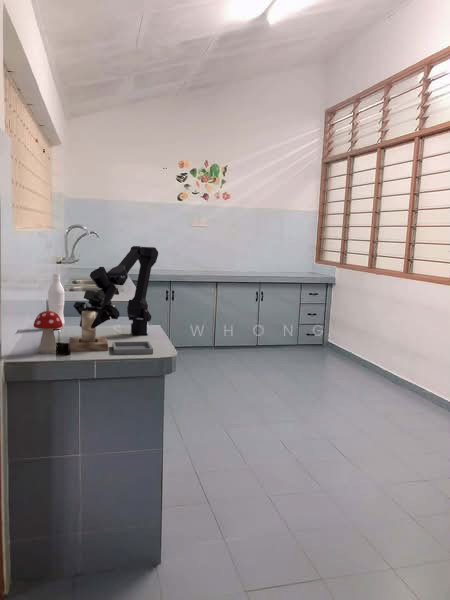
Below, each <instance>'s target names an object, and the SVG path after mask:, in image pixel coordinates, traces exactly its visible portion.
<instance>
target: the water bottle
mask: <svg viewBox="0 0 450 600" xmlns="http://www.w3.org/2000/svg"><path fill="white" fill-rule="evenodd" d="M47 298H48V299H47V307H48V311H52V312H55V313H56V314H58V315H59V317H60V319H61V321H62V324H63V326H62V327H60V328H57V329H60V330H62V329H63V328H64V327H65V323H66V322H65V316H64V309H65V308H64V307H65V289H64V286H63V285H62V283H61V274H60V273H52V281H51V284H50V285H49V287H48V291H47ZM57 329H56V330H57Z"/></svg>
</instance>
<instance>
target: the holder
mask: <svg viewBox="0 0 450 600" xmlns="http://www.w3.org/2000/svg"><path fill="white" fill-rule="evenodd" d="M69 344H70V350H71V351H70V352H99V351H101V352H103V351H104V352H107V351H108V350H109V342H108V338H107V336H95V342H82V336H80V337H79V336H78V337H77V336H73V337H72V336H71V337H69V340H68V345H69Z"/></svg>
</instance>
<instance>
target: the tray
mask: <svg viewBox="0 0 450 600" xmlns="http://www.w3.org/2000/svg"><path fill="white" fill-rule="evenodd" d="M111 347H112V351H113V355H118V356H119V355H120V356H121V355H122V356H123V355H154V348H153V346H152V344H151V342H150V341H112V345H111Z"/></svg>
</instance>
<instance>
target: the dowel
mask: <svg viewBox="0 0 450 600" xmlns="http://www.w3.org/2000/svg"><path fill="white" fill-rule="evenodd" d="M96 316H97V313H96V312H95V311H82V327H81V337H82V342H95V337H96V327H95V328H94V329H92V328H91V326H92V323H93V322H94V320H95V318H96Z"/></svg>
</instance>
